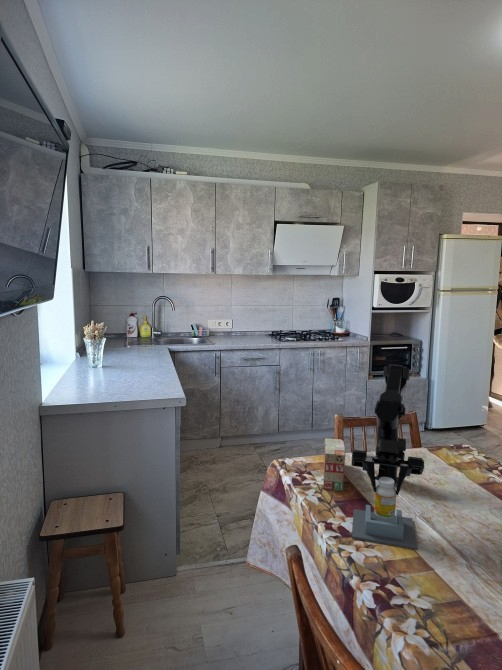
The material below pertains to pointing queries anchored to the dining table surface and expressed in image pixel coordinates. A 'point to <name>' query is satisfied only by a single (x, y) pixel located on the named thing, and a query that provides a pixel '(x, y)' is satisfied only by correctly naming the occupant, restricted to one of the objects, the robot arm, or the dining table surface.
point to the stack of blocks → (334, 464)
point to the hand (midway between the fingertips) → (386, 493)
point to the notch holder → (383, 529)
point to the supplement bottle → (385, 498)
